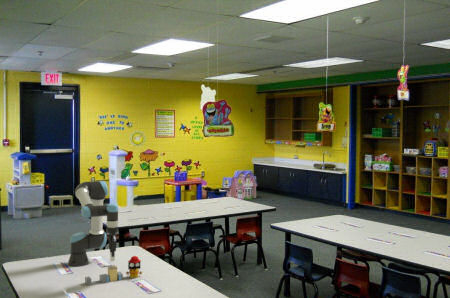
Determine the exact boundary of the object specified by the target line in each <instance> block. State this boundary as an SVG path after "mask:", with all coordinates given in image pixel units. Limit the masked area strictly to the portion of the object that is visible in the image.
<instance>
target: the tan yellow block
mask: <svg viewBox="0 0 450 298" xmlns="http://www.w3.org/2000/svg"><path fill="white" fill-rule="evenodd" d="M117 272H118V266H116V265H108V266H107V275H108V276H109V281H112V282H117V281H116V280H117Z"/></svg>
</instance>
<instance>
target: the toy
mask: <svg viewBox="0 0 450 298" xmlns="http://www.w3.org/2000/svg"><path fill="white" fill-rule="evenodd" d="M127 261H128V262H127V264H128V265H127V267H128V270H129V271H126V272H125V274H126V276H129V278H131V279H133V278H139V275H142V274H143V270H142V271H140V269H141V259H139V257H138V256H136V255H133V256H131V258H130V259H129V260H127Z"/></svg>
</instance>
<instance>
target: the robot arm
mask: <svg viewBox="0 0 450 298" xmlns="http://www.w3.org/2000/svg"><path fill="white" fill-rule="evenodd" d="M74 193H75V194H74V195H75V197H76V198H77V199H78V200H79V204H81V208H80V209H81V217H82V218H88V219H89V218H91V220H90V221H91V222H90V223H91V225H90V230H89V231H88V233H86V232H77V233H74V234H72V235H71V236H70V239H69V240H70V241H69V242H70V255H69V258H68V262H67V264H68V265H67V266H69V267H83V266H86V265H88V264H89V262H90V261H89V257H88V254H87V250H96V249H102V248H104V247H106V244H107V241H108V249H109V255H110V257H109V261H110V262H115V257H116V251H117V241H118V238H117V235H116V234H117V233H118V232H119V205H118V203H106V204H104V200H105V199H106V197H107V196H108V195H109V188H108V184H107V182H106V181H104V180H93V181H83V182H81V183H80V184H78V185H77V186H76V188H75V190H74ZM103 217H106V222H105V223H106V232H105V230H104V229H103V226H104V225H103V223H104V221H103V219H104V218H103ZM107 234H108V235H107ZM107 238H108V240H107Z"/></svg>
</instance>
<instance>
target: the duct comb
mask: <svg viewBox="0 0 450 298" xmlns="http://www.w3.org/2000/svg"><path fill="white" fill-rule="evenodd" d="M123 280H124V274H123V272H122V271H117V280H116V281H115V282H117V281H123ZM111 282H113V281H109V276H108V273H102V274H101V273H100V274H99V280H94V281H92V278H91V277H90V276H85V277H84V284H85V285H86V286H92V285H98V284H99V285H100V284H104V283H105V284H106V283H111Z"/></svg>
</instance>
